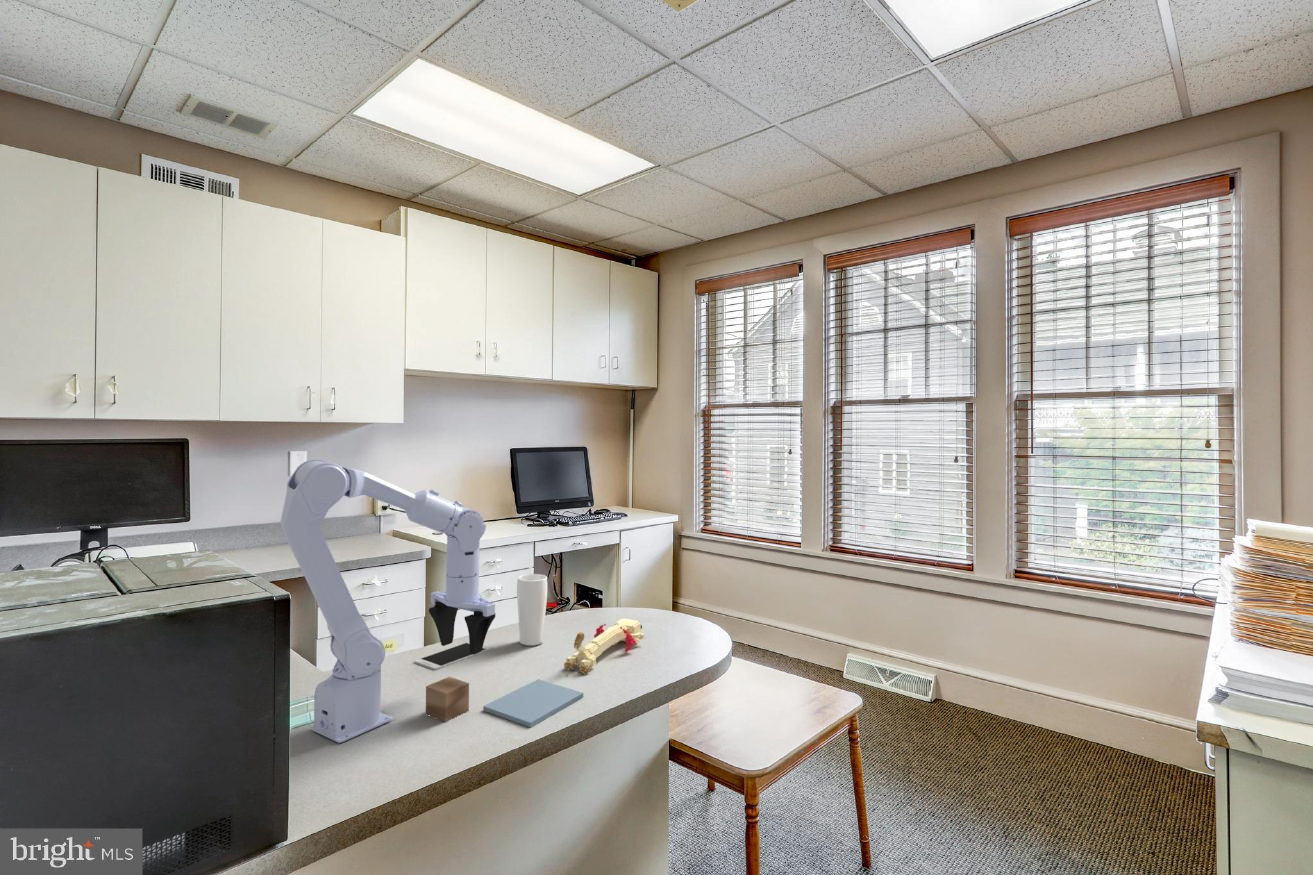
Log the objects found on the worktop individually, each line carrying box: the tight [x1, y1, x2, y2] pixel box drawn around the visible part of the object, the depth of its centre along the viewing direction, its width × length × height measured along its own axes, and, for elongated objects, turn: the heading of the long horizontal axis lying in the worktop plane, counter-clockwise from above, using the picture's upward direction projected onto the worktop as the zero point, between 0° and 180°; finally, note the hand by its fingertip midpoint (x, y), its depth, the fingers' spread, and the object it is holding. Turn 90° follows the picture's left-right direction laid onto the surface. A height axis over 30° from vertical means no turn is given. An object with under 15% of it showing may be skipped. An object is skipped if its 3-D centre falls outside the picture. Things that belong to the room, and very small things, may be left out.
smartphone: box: [413, 641, 494, 671], centre depth 137 cm, size 7×16×1 cm, turn 147°
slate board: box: [482, 679, 584, 728], centre depth 114 cm, size 14×11×1 cm
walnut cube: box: [425, 676, 470, 723], centre depth 110 cm, size 5×5×5 cm
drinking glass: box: [516, 573, 548, 647], centre depth 145 cm, size 7×7×15 cm
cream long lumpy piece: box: [563, 618, 645, 675], centre depth 140 cm, size 10×9×25 cm
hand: (461, 648), depth 116 cm, fingers open, 7 cm apart
